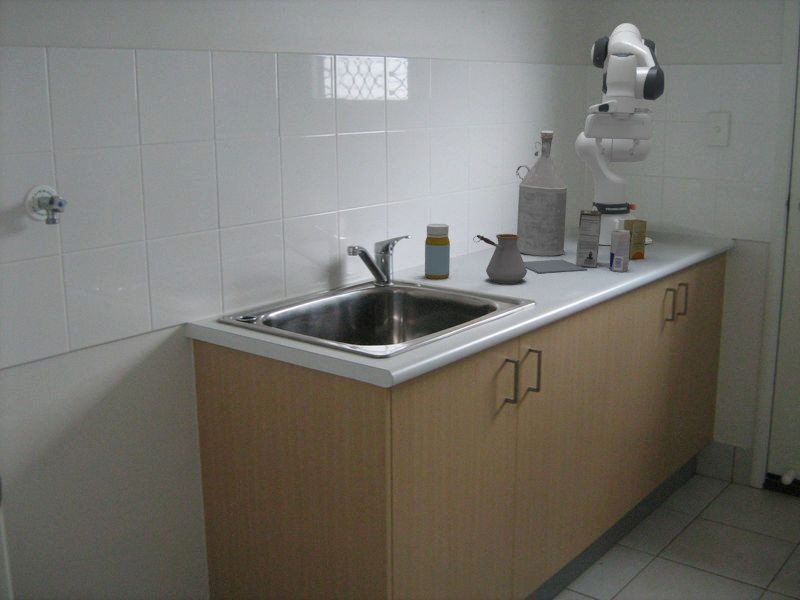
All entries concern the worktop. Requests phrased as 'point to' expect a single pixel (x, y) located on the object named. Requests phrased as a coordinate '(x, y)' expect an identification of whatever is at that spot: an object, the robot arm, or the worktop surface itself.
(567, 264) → the mat
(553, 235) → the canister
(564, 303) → the worktop surface
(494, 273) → the coffee pot
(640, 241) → the shoe polish box
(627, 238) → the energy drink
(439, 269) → the bottle
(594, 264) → the coffee box
